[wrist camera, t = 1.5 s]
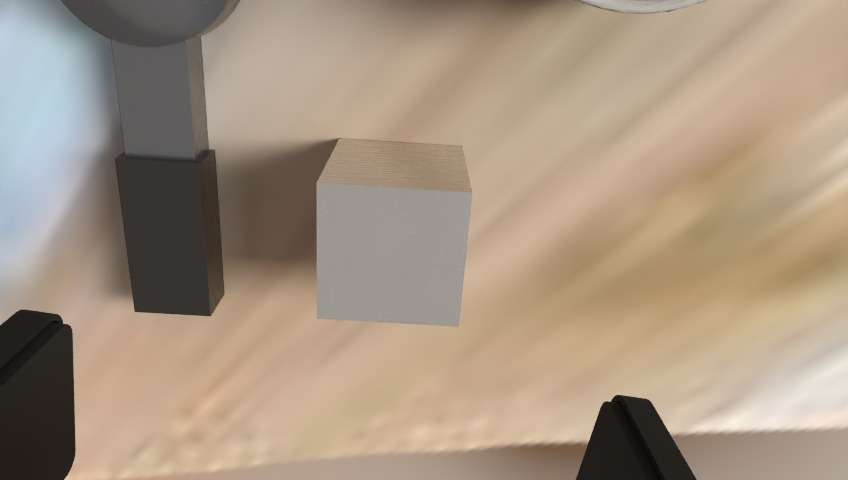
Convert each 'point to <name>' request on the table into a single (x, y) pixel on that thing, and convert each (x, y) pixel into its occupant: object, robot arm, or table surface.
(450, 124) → the table surface
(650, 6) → the teacup
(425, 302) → the wood-topped grey cube
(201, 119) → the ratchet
